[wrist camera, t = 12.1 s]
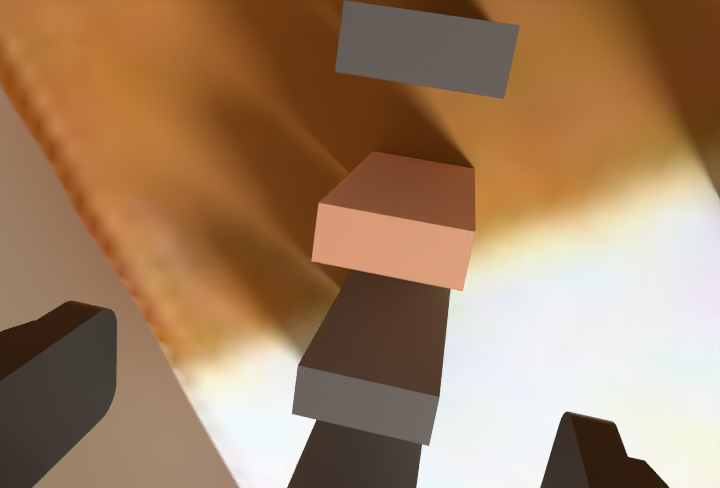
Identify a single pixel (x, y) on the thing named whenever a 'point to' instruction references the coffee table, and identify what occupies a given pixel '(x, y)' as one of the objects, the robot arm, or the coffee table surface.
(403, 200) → the domino
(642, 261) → the coffee table surface
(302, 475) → the domino
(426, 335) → the domino
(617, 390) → the coffee table surface
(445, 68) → the domino
